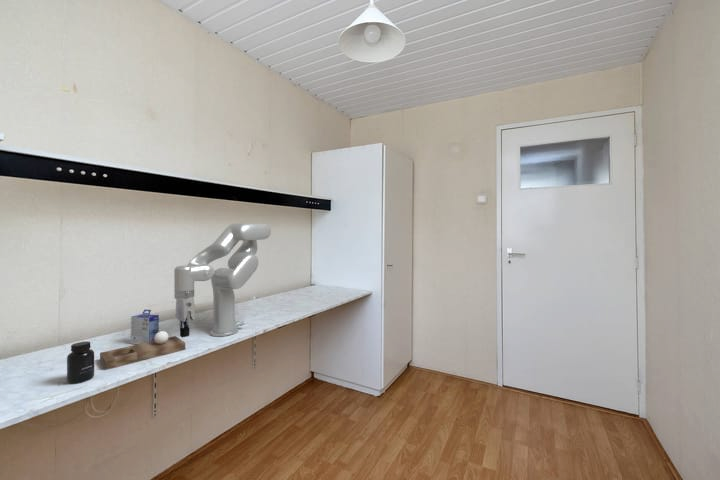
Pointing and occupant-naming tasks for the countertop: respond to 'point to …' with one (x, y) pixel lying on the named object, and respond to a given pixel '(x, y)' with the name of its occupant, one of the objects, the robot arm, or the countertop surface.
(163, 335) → the ball
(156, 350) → the board
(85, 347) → the supplement bottle
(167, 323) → the countertop surface
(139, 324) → the ink cartridge box
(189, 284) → the robot arm
